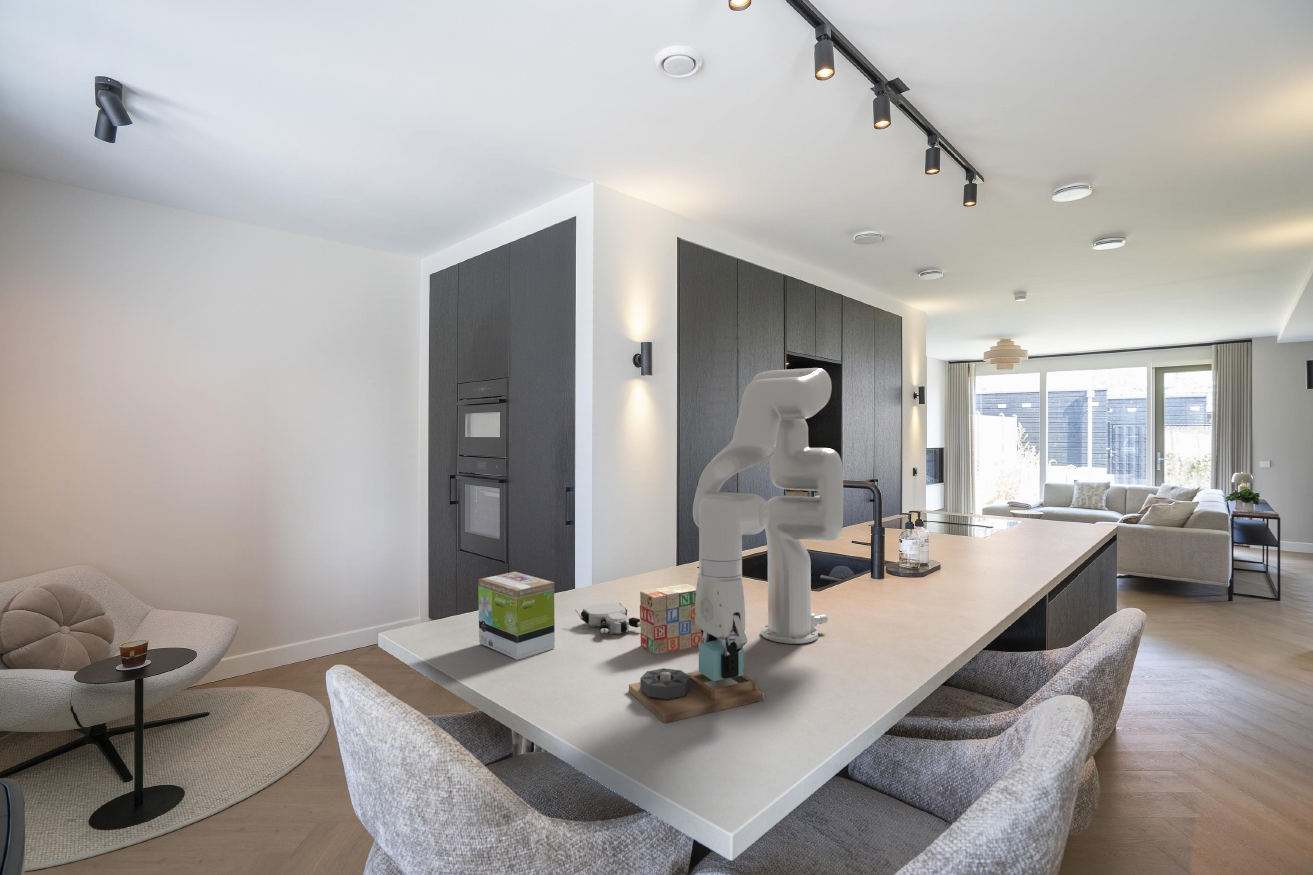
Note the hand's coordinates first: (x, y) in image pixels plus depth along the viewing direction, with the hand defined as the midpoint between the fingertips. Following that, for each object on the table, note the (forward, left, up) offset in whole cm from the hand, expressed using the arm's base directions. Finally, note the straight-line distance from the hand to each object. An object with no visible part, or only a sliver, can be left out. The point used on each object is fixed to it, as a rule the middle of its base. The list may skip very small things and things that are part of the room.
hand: (721, 670), depth 111 cm
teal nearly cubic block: (0, 0, -1) cm, 1 cm away
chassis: (+4, -2, -4) cm, 6 cm away
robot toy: (+3, -45, -5) cm, 45 cm away
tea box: (+26, -42, -4) cm, 49 cm away
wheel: (+9, -3, -3) cm, 10 cm away
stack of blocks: (-9, -27, -5) cm, 29 cm away
